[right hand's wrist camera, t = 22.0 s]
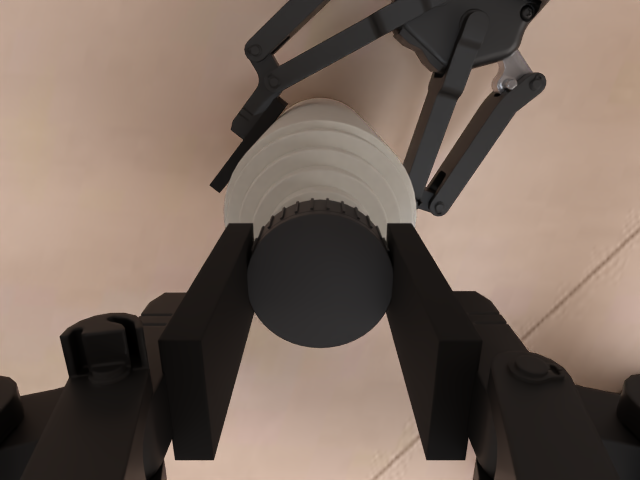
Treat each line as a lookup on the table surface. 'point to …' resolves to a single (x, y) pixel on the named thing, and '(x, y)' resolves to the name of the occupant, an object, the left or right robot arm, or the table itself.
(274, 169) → the bottle
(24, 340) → the table surface
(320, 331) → the cap
